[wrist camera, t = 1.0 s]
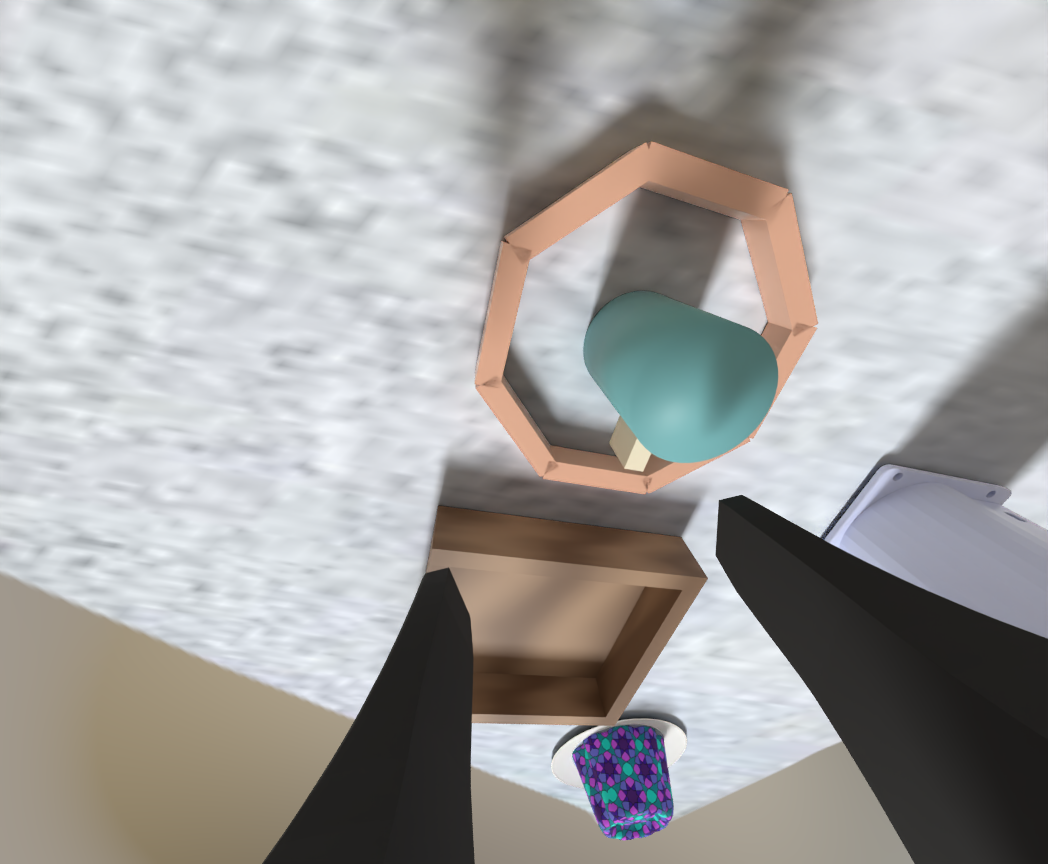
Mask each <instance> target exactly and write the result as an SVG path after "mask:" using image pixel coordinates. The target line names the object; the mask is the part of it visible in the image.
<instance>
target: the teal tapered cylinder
mask: <svg viewBox="0 0 1048 864" xmlns="http://www.w3.org/2000/svg"><path fill="white" fill-rule="evenodd" d="M583 354H584V361H585V364H586V367H587V370H588V372H589V373H590V375H591V377H592V378H593V379H594V381H595V382H596V383H597V385H598V386H599V387H600V389H601V390H602V391H603V393H604V394H605V395H606V397H607V398H608V400H609V401H610V402H611V404H612V405H613V406H614V408H615V409H616V410H617V412H618V413H619V414H620V417H619V419H618V422H617V424H616V427H615V429H614V432H613V434H612V437H611V440H610V442H609V444H610V445H611V447H612V449H613V451H614V452H615V454H616V456H617V457H618V459H619V461H620V462H621V464H622V466H623V467H624V469H630V470H636V471H642V472H643V471H644V468H645V466H646V464H647V462H648V460H649V457H650V455H651V453H652V454H653V455H655V456H657V457H659V458H661V459H664V460H667V461H671V462H677V463H694V462H701V461H705V460H709V459H712V458H714V457H717V456H719V455H722V454H724V453H726V452H728V451H729V450H731V449H733V448H734V447H736V446H737V445H739V444H740V443H741V442H743V441H744V440H745V439H746V438H747V437H748V436H750V434H751V433H752V432H753V431H754V430H755V429H756V428H757V427H758V426H759V424H760V423H761V422H762V421H763V419H764V417H765V416H766V414H767V413H768V411H769V409H770V407H771V405H772V403H773V400H774V397H775V394H776V390H777V385H778V365H777V360H776V357H775V354H774V352H773V350H772V348H771V346H770V345H769V343H768V342H767V341H766V340H765V339H764V338H763V337H762V336H761V335H760V334H758V333H757V332H755V331H753V330H752V329H750V328H747V327H745V326H742V325H740V324H737V323H734V322H732V321H729V320H726V319H724V318H721V317H719V316H716V315H713V314H711V313H708V312H705V311H703V310H700V309H697V308H695V307H692V306H690V305H687V304H684V303H682V302H679V301H676V300H674V299H671V298H668V297H666V296H663V295H661V294H658V293H655V292H650V291H634V292H630V293H626V294H623V295H621V296H619V297H617V298H615V299H613V300H612V301H610V302H609V303H607V304H606V305H605V306H604V307H603V308H602V309H601V310H600V311H599V312H598V313H597V314H596V316H595V317H594V319H593V320H592V322H591V324H590V325H589V327H588V330H587V333H586V336H585V340H584V347H583Z"/></svg>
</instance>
